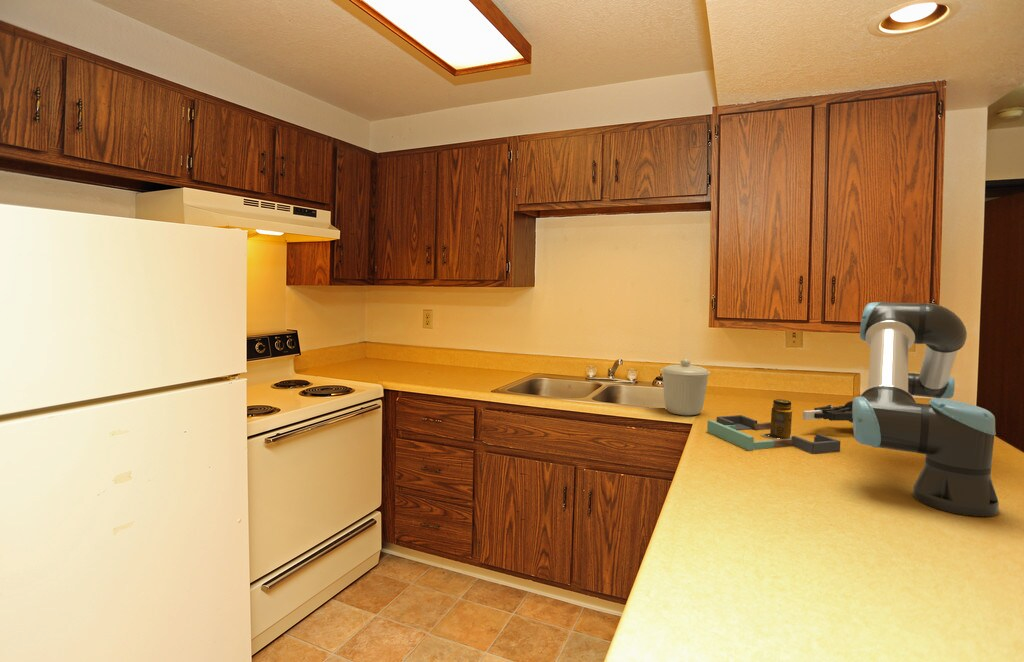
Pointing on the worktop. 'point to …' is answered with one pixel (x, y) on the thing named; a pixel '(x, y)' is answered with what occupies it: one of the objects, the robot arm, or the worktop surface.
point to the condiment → (780, 420)
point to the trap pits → (818, 446)
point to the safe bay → (736, 436)
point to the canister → (684, 388)
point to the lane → (776, 442)
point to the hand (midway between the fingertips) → (804, 415)
